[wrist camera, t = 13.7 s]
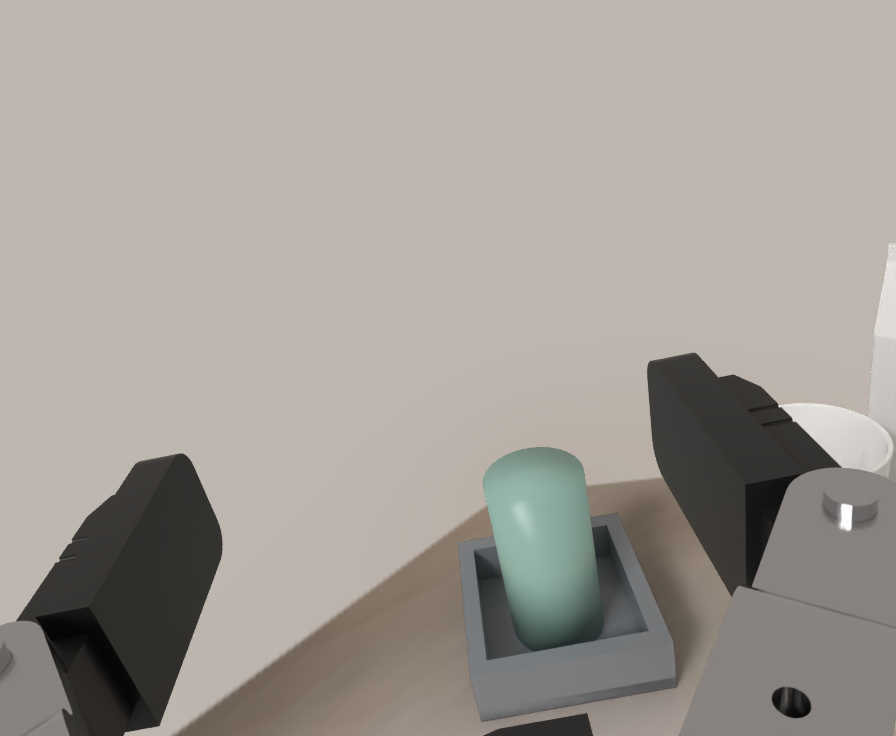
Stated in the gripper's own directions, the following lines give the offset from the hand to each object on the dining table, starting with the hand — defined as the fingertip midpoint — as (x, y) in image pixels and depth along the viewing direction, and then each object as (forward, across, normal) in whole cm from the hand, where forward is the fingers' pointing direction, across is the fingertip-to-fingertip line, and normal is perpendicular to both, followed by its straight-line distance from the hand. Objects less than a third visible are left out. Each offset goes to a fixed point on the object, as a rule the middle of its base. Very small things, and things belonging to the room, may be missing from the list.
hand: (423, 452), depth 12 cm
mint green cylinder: (+21, -3, +27) cm, 34 cm away
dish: (+21, -3, +28) cm, 35 cm away
